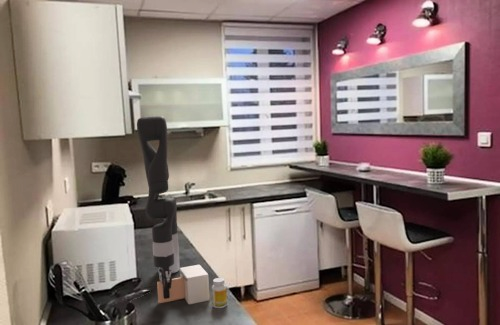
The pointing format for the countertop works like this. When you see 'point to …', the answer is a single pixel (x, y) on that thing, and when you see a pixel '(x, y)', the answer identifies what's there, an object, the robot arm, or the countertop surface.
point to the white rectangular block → (195, 284)
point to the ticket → (172, 290)
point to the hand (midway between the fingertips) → (166, 297)
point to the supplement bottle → (219, 293)
